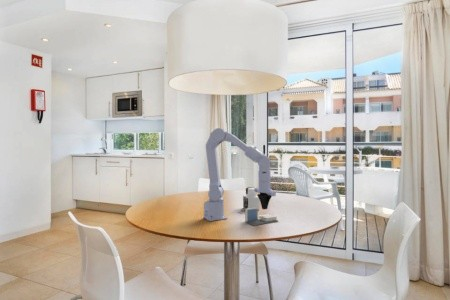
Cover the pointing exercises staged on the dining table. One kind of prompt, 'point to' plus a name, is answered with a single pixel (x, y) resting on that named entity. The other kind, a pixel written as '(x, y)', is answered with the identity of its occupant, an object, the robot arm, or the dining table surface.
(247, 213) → the tile near
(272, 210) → the dining table surface
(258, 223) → the mat
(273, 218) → the tile far
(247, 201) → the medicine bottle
